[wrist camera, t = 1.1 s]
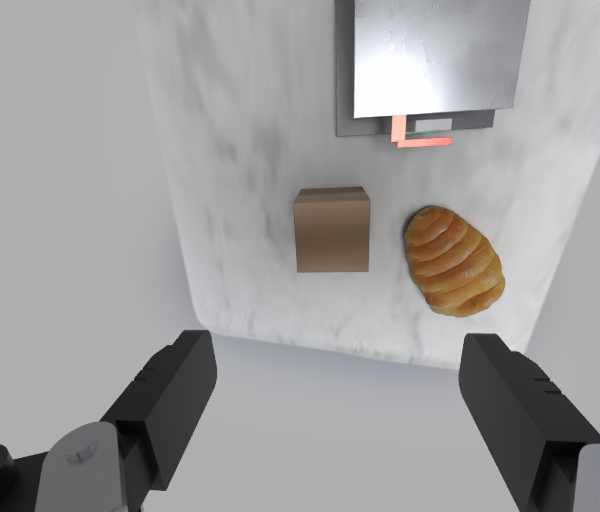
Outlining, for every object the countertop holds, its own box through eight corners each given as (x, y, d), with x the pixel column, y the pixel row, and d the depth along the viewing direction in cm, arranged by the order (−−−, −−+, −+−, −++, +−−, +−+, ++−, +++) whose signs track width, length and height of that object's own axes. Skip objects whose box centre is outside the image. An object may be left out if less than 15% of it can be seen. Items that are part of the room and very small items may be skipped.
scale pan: (353, -55, 18) (355, -76, 16) (524, -76, 17) (547, -101, 15) (352, 148, 21) (354, 149, 20) (491, 141, 20) (506, 141, 19)
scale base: (334, -43, 21) (335, -109, 15) (513, -65, 19) (586, -145, 14) (337, 137, 25) (338, 138, 19) (485, 129, 23) (533, 127, 18)
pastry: (380, 231, 27) (388, 245, 24) (454, 185, 25) (474, 193, 22) (432, 311, 29) (447, 335, 26) (504, 274, 28) (529, 295, 24)
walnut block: (301, 189, 26) (293, 203, 21) (362, 186, 26) (370, 200, 20) (304, 245, 28) (297, 272, 22) (361, 244, 28) (368, 271, 22)
